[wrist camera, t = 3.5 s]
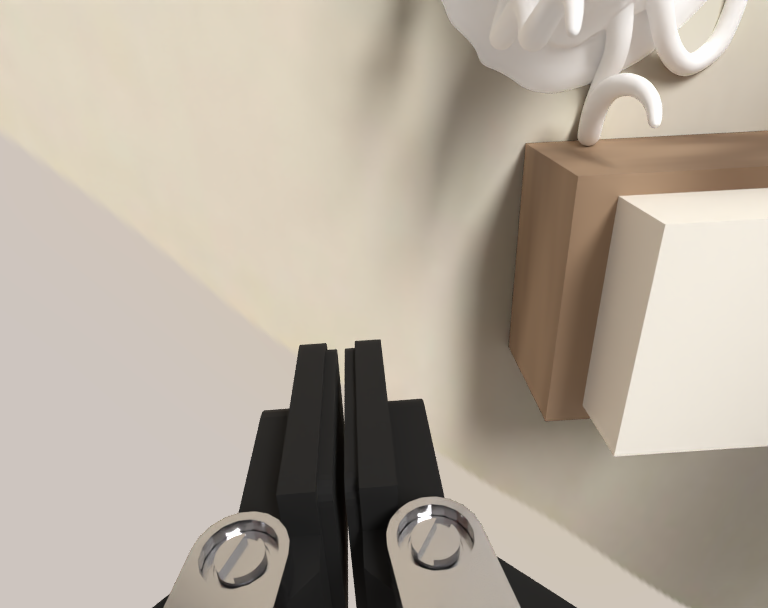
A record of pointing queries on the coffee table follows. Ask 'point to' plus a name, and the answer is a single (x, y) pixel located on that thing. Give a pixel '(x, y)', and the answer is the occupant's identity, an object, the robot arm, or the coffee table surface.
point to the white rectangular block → (683, 325)
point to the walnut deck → (597, 239)
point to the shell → (589, 46)
